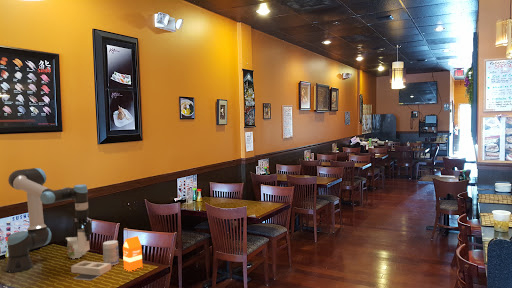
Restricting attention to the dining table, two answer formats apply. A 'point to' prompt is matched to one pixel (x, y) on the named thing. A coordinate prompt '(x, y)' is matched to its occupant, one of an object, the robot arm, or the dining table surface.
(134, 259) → the orange juice
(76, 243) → the pitcher
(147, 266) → the dining table surface
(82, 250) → the white cylinder
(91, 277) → the phone
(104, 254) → the supplement tub
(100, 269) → the white flat tray
